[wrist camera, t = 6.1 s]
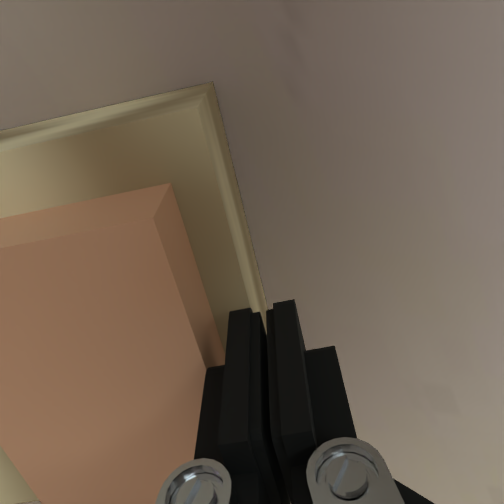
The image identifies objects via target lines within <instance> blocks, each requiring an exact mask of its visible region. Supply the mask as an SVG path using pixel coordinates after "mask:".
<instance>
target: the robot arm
mask: <svg viewBox="0 0 504 504" xmlns="http://www.w3.org/2000/svg"><path fill="white" fill-rule="evenodd" d="M266 328H267V334H266V331H265V327H264V323H263V320H262V316H261V313H260V312H254V313H253V311H252V309H251V308H245V309H239V310H234V311H230V312H229V319H228V331H227V343H226V354H225V365H220V366H214V367H209V368H207V370H206V374H205V381H204V388H203V395H202V403H201V410H200V417H199V424H198V432H197V439H196V446H195V454H194V460H191V461H189V462H187V463H184V464H182V465H181V466H179V467H178V468H177V469H175V470H174V471H173V472H172V473H171V474H170V475H169V476H168V478H167V479H166V480H165V481H164V483H163V485H162V487H161V489H160V491H159V494H158V496H157V499H156V502H155V504H434V503H433V502H431V501H429V500H428V499H426V498H424V497H423V496H421V495H419V494H418V493H416V492H415V491H413V490H411V489H410V488H408V487H406V486H405V485H403V484H401V483H400V482H398V481H396V480H395V479H393V478H392V475H391V473H390V471H389V469H388V467H387V465H386V463H385V461H384V459H383V458H382V456H381V455H380V453H379V452H378V450H376V449H375V448H374V447H373V446H371V445H370V444H369V443H367V442H365V441H362V440H360V439H357V436H356V432H355V428H354V424H353V420H352V416H351V412H350V407H349V403H348V399H347V395H346V391H345V387H344V383H343V378H342V374H341V370H340V366H339V362H338V358H337V354H336V350H335V346H330V347H324V348H319V349H313V350H307V351H306V349H305V345H304V340H303V336H302V331H301V327H300V322H299V318H298V313H297V309H296V304H295V300H294V299H293V300H288V301H282V302H277V303H273V309H271V310H266ZM290 501H291V502H290Z"/></svg>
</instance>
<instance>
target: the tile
mask: <svg viewBox="0 0 504 504" xmlns="http://www.w3.org/2000/svg"><path fill="white" fill-rule="evenodd" d="M220 365H225V352H224V349H223V346H222V343H221V340H220V337H219V333H218V330H217V327H216V324H215V321H214V318H213V315H212V311H211V308H210V305H209V302H208V299H207V296H206V292H205V289H204V286H203V283H202V280H201V277H200V273H199V270H198V267H197V264H196V261H195V258H194V255H193V251H192V248H191V245H190V242H189V239H188V236H187V232H186V229H185V226H184V223H183V220H182V217H181V213H180V210H179V207H178V204H177V201H176V198H175V195H174V191H173V188H172V185H171V183H167V184H162V185H158V186H153V187H148V188H143V189H138V190H134V191H129V192H124V193H119V194H114V195H110V196H105V197H100V198H95V199H90V200H86V201H81V202H76V203H71V204H66V205H62V206H57V207H52V208H47V209H43V210H38V211H33V212H28V213H23V214H19V215H14V216H9V217H4V218H0V446H1V447H2V449H3V450H4V452H5V453H6V454H7V456H8V457H9V459H10V460H11V461H12V463H13V464H14V466H15V467H16V468H17V470H18V471H19V473H20V474H21V475H22V477H23V478H24V480H25V481H26V482H27V484H28V485H29V487H30V488H31V489H32V491H33V492H34V494H35V495H36V496H37V498H38V499H39V501H40V502H41V503H42V504H155V502H156V499H157V496H158V494H159V491H160V489H161V487H162V485H163V483H164V481H165V480H166V479H167V478H168V476H169V475H170V474H171V473H172V472H173V471H174V470H175V469H177V468H178V467H179V466H181V465H182V464H184V463H187V462H189V461H191V460H194V454H195V446H196V439H197V432H198V424H199V417H200V410H201V403H202V395H203V388H204V381H205V374H206V370H207V368H209V367H214V366H220Z"/></svg>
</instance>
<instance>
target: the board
mask: <svg viewBox="0 0 504 504" xmlns="http://www.w3.org/2000/svg"><path fill="white" fill-rule="evenodd" d="M167 183H171V185H172V188H173V191H174V195H175V198H176V201H177V204H178V207H179V210H180V213H181V217H182V220H183V223H184V226H185V229H186V232H187V236H188V239H189V242H190V245H191V248H192V251H193V255H194V258H195V261H196V264H197V267H198V270H199V273H200V277H201V280H202V283H203V286H204V289H205V292H206V296H207V299H208V302H209V305H210V308H211V311H212V315H213V318H214V321H215V324H216V327H217V330H218V333H219V337H220V340H221V343H222V346H223V349H224V352H225V354H226V343H227V331H228V319H229V312H230V311H234V310H239V309H245V308H251V309H252V311H253V313H254V312H260V313H261V316H262V320H263V323H264V327H265V331H266V334H267V328H266V310H268V307H267V303H266V299H265V295H264V291H263V287H262V282H261V278H260V274H259V270H258V266H257V262H256V258H255V254H254V249H253V245H252V241H251V237H250V233H249V229H248V225H247V221H246V216H245V212H244V208H243V204H242V200H241V196H240V192H239V188H238V183H237V179H236V175H235V171H234V167H233V163H232V159H231V155H230V150H229V146H228V142H227V138H226V134H225V130H224V126H223V122H222V117H221V113H220V109H219V105H218V101H217V97H216V93H215V89H214V85H213V82H210V83H206V84H201V85H197V86H193V87H188V88H184V89H180V90H175V91H171V92H167V93H162V94H158V95H154V96H149V97H145V98H141V99H136V100H132V101H128V102H123V103H119V104H115V105H110V106H106V107H102V108H97V109H93V110H89V111H84V112H80V113H76V114H71V115H67V116H63V117H58V118H54V119H50V120H45V121H41V122H37V123H32V124H28V125H24V126H19V127H15V128H11V129H6V130H2V131H0V218H4V217H9V216H14V215H19V214H23V213H28V212H33V211H38V210H43V209H47V208H52V207H57V206H62V205H66V204H71V203H76V202H81V201H86V200H90V199H95V198H100V197H105V196H110V195H114V194H119V193H124V192H129V191H134V190H138V189H143V188H148V187H153V186H158V185H162V184H167ZM32 501H39V499H38V498H37V496H36V495H35V494H34V492H33V491H32V489H31V488H30V487H29V485H28V484H27V482H26V481H25V480H24V478H23V477H22V475H21V474H20V473H19V471H18V470H17V468H16V467H15V466H14V464H13V463H12V461H11V460H10V459H9V457H8V456H7V454H6V453H5V452H4V450H3V449H2V447H1V446H0V504H17V503H25V502H32Z"/></svg>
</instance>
